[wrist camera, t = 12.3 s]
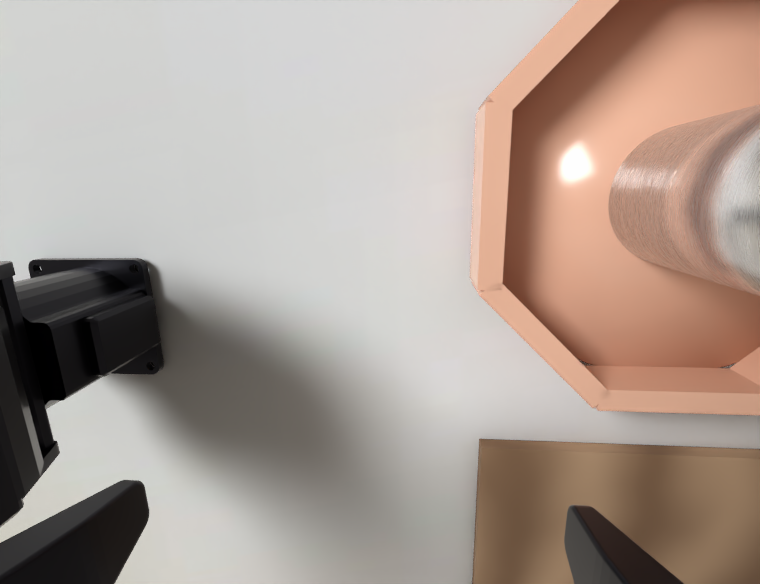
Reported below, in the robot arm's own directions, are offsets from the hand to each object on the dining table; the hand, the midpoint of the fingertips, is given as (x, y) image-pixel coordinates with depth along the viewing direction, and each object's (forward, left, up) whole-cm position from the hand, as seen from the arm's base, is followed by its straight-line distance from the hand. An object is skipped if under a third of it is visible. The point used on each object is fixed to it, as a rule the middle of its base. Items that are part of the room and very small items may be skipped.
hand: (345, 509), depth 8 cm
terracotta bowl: (+13, +6, -13) cm, 19 cm away
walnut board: (+13, -13, -13) cm, 23 cm away
